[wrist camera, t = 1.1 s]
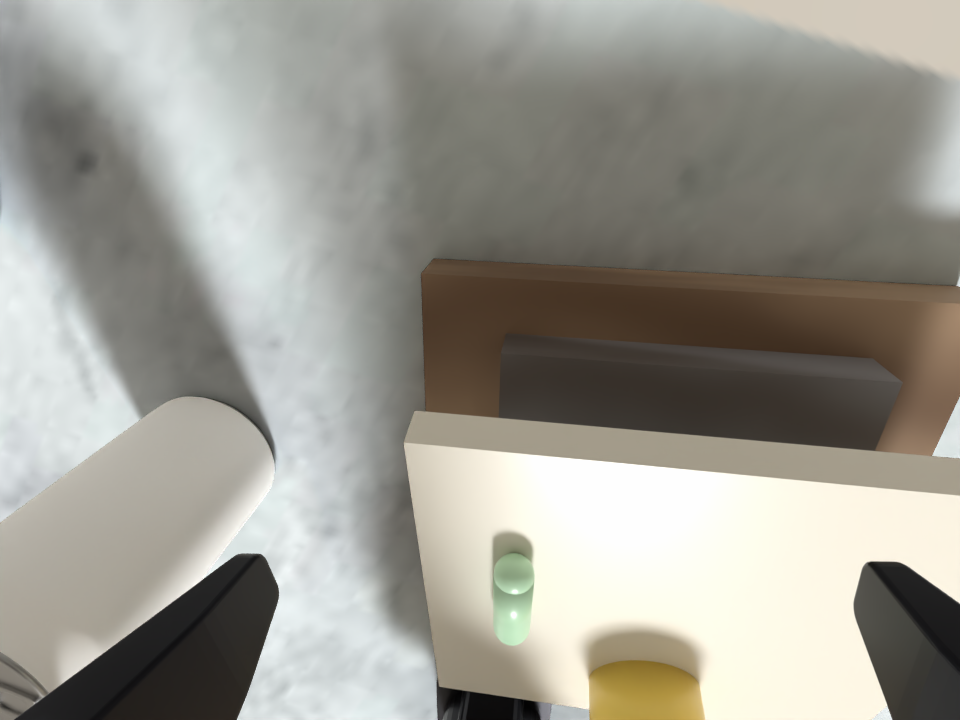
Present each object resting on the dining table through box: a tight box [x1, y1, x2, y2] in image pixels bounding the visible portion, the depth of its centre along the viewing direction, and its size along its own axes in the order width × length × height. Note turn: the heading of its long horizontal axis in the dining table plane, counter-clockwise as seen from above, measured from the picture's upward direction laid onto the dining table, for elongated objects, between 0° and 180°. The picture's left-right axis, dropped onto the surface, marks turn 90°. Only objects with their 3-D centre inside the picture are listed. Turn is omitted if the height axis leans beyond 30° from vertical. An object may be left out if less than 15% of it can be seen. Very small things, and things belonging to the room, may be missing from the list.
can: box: [0, 397, 275, 720], centre depth 20 cm, size 6×6×12 cm
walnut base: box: [421, 259, 960, 456], centre depth 21 cm, size 18×18×4 cm
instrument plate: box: [403, 411, 960, 720], centre depth 16 cm, size 15×16×4 cm
